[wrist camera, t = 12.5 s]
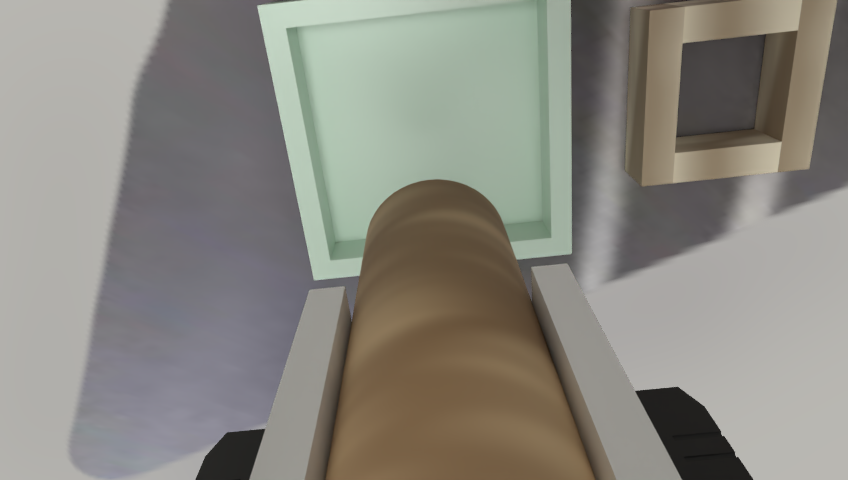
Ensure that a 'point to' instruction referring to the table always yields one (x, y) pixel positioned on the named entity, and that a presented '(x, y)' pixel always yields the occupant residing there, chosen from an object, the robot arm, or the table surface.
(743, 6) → the socket block
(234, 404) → the table surface
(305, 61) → the tray
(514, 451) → the dowel
